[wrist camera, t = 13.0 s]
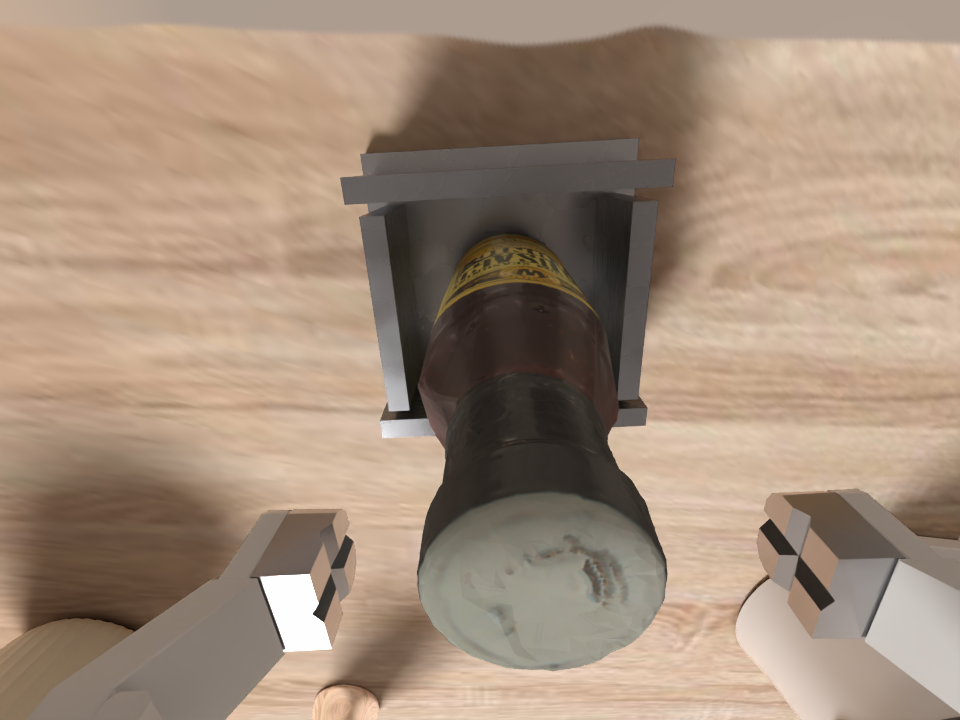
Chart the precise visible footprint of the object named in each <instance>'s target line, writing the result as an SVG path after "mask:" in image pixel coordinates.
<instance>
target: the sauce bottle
mask: <svg viewBox="0 0 960 720" xmlns="http://www.w3.org/2000/svg"><path fill="white" fill-rule="evenodd" d="M418 389H419V392H420V395H421V398H422V401H423V404H424V408H425V411H426V414H427V418H428V420H429V423H430V426H431V428H432V429H433V431H434V433H435V435H436V437H437V438H438V439H439V441H440V442H441V444H442V445H443V447H444V448H445V459H446V463H445V469H444V475H443V483H442V485H441V486H440V487H439V489H438V491H437V493H436V496H435V497H434V499H433V501H432V503H431V505H430V507H429V510H428V512H427V516H426V520H425V525H424V530H423V535H422V543H421V549H420V560H419V565H418V570H417V576H418V591H419V597H420V600H421V603H422V605H423V608H424V610H425V612H426V613H427V615H428V617H429V619H430V620H431V622H432V624H433V626H434V627H435V628H436V629H438V630H439V631H440V632H441V633H442V634H443V635H445V637H446V638H447V640H448V641H449V642H450V643H451V644H453V645H454V646H456V647H458V648H460V649H461V650H463V651H465V652H466V653H468V654H469V655H471V656H473V657H476V658H479V659H481V660H484V661H487V662H490V663H493V664H496V665H500V666H503V667H506V668H514V669H528V670H539V669H544V670H549V671H556V670H563V669H570V668H576V667H580V666H584V665H587V664H591V663H594V662H596V661H599V660H601V659H602V658H604V657H605V656H606V655H608V654H609V653H611V652H614V651H616V650H618V649H621V648H623V647H625V646H627V645H629V644H631V643H632V642H633V641H634V640H636V639H637V638H638V637H639V636H640V635H641V634H642V633H643V632H644V631H645V629H646V628H647V627H648V626H649V625H650V624H651V622H652V621H653V619H654V617H655V616H656V614H657V612H658V610H659V609H660V607H661V605H662V603H663V601H664V598H665V588H666V581H667V564H666V558H665V555H664V553H663V550H662V547H661V545H660V543H659V540H658V537H657V535H656V532H655V527H654V526H653V523H652V520H651V517H650V514H649V511H648V508H647V505H646V502H645V500H644V499H643V498H642V496H641V495H640V494H639V492H638V490H637V488H636V487H635V485H634V483H633V482H632V480H631V479H630V478H629V477H628V476H627V475H626V474H625V473H624V472H622V471H621V470H620V469H619V468H618V466H617V464H616V461H615V458H614V457H613V454H612V451H611V450H610V448H609V446H608V442H607V440H608V434H609V432H610V430H611V428H612V427H613V425H614V424H615V423H616V422H617V417H618V412H619V403H618V397H617V392H616V386H615V381H614V375H613V369H612V364H611V358H610V352H609V347H608V341H607V335H606V332H605V328H604V326H603V324H602V323H601V321H600V319H599V317H598V316H597V314H596V312H595V311H594V309H593V308H592V306H591V305H590V303H589V302H588V301H587V299H586V298H585V296H584V294H583V293H582V291H581V290H580V289H579V287H578V286H577V284H576V282H575V281H574V280H573V278H572V277H571V276H570V275H569V273H568V272H567V270H566V269H565V267H564V266H563V264H562V263H561V261H560V260H559V258H558V257H557V256H556V255H555V254H554V253H553V252H552V251H551V250H550V249H549V248H548V247H547V246H545V245H544V244H542V243H541V242H539V241H537V240H535V239H533V238H530V237H527V236H523V235H520V234H501V235H496V236H491V237H489V238H486V239H484V240H482V241H480V242H479V243H477V244H475V245H474V246H473V247H472V248H470V249H469V250H468V251H467V252H466V253H465V254H464V255H463V257H462V258H461V259H460V261H459V262H458V264H457V266H456V268H455V270H454V273H453V276H452V278H451V281H450V284H449V286H448V289H447V291H446V293H445V296H444V298H443V301H442V303H441V306H440V309H439V312H438V315H437V318H436V320H435V323H434V326H433V329H432V332H431V336H430V341H429V344H428V348H427V352H426V356H425V360H424V364H423V368H422V371H421V375H420V379H419V382H418Z"/></svg>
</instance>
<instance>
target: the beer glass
mask: <svg viewBox="0 0 960 720" xmlns="http://www.w3.org/2000/svg"><path fill="white" fill-rule="evenodd" d="M378 711H379V703H378V700H377V699H376V697H375V696H374V695H373V694H372V693H371V692H369V691H368V690H366V689H364V688H361V687H358V686H354V685H334V686H331V687H328V688H326V689H324V690H322V691H321V692H320V693H319V694H318V695H317V696H316V698H315V701H314V705H313V711H312V719H311V720H376V718H377V715H378Z"/></svg>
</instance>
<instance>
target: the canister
mask: <svg viewBox="0 0 960 720" xmlns="http://www.w3.org/2000/svg"><path fill="white" fill-rule="evenodd" d="M132 633H134V631H133V630H130V629H127V628H125V627H124V626H122V625H116V624H114V623H112V622H104V621H102V620H92V619H89V618H85V619H79V618H73V619H62V620H58V621H53V622H49V623H46V624H44V625H42V626H39V627H36V628H34V629H32V630H30V631H28V632H26V633H24V634H23V635H21V636H19V637H18V638H16V639H15V640H13V641H12V642H10V643H9V644H7V645H6V646H4V647H3V648H2V649H0V720H26V719H27V718H28V717H29V716H30V714H31V713H32V712H33V711H34V710H35V708H36V707H37V706H38V705H39V704H40V702H41V701H42V700H43V699H44V698H45V697H46V695H47V694H48V693H49V692H50V691H51V689H53V688H54V687H56V686H57V685H59V684H60V683H61V682H63V681H64V680H66V679H67V678H69V677H70V676H72V675H73V674H74V673H76V672H77V671H79V670H80V669H82V668H83V667H85V666H86V665H87V664H89V663H90V662H92V661H93V660H95V659H96V658H98V657H99V656H100V655H102V654H103V653H105V652H106V651H108V650H109V649H111V648H112V647H114V646H115V645H116V644H118V643H119V642H121V641H122V640H124V639H125V638H127V637H128V636H129V635H131V634H132Z"/></svg>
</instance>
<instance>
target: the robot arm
mask: <svg viewBox="0 0 960 720" xmlns="http://www.w3.org/2000/svg"><path fill="white" fill-rule="evenodd" d="M764 511H765V512H766V514H767V515H768V517H769V518H770V519H769V520H768V521H767V522H766V523H765V524H764V525H762V526H761V527H760V528H759V533H758V538H757V546H758V552H759V558H760V560H761V562H762V565H763V567H764V569H765V571H766V572H767V574H768V575H769V577H770V579H768V580H767V581H766V582H764V583H763V584H762V585H761V586H760V587H758V588H757V589H756V590H755V591H754V592H753V593H752V595H751V596H750V597H749V598H748V600H747V601H746V602H745V604H744V605H743V607H742V609H741V611H740V613H739V615H738V619H737V623H736V637H737V641H738V643H739V645H740V647H741V648H742V650H743V651H744V652H745V653H746V654H747V655H748V656H749V657H750V658H751V659H752V660H753V662H754V663H755V664H756V665H757V666H758V667H759V668H760V669H761V670H762V672H763V673H764V674H765V675H766V676H767V677H768V679H769V680H770V681H771V682H772V684H773V685H774V686H775V687H776V688H777V690H778V691H779V692H780V694H781V695H782V696H783V698H784V699H785V700H786V701H787V703H788V704H789V705H790V707H791V708H792V710H793V711H794V712H795V714H796V715H797V716H798V718H799V719H800V720H960V541H959V540H950V539H941V538H931V537H922V536H916V535H915V534H914V533H913V532H912V531H911V530H909V529H908V528H907V527H906V526H905V525H904V524H902V523H901V522H900V521H899V520H898V519H897V518H896V517H894V516H893V515H892V514H891V513H890V512H889V511H887V510H886V509H885V508H884V507H883V506H882V505H880V504H879V503H878V502H877V501H876V500H875V499H873V498H872V497H871V496H870V495H869V494H868V493H866V492H863V491H861V490H859V489H845V490H828V491H814V492H791V493H772V494H771V495H770V496H769V497H768V498H767V500H766V504H765V507H764ZM348 527H349V521H348V517H347V514H346V511H344V510H342V509H293V510H268V511H267V512H265V513H263V514H262V515H261V516H260V518H259V519H258V521H257V522H256V524H255V525H254V527H253V528H252V530H251V531H250V533H249V534H248V536H247V537H246V539H245V540H244V542H243V543H242V545H241V546H240V548H239V549H238V551H237V552H236V554H235V555H234V557H233V558H232V560H231V561H230V563H229V564H228V566H227V567H226V569H225V570H224V572H223V573H222V575H221V576H220V578H219V579H211V580H209V581H208V582H206V583H205V584H203V585H202V586H200V587H199V588H197V589H196V590H195V591H193V592H192V593H190V594H189V595H187V596H186V597H184V598H183V599H182V600H180V601H179V602H177V603H176V604H174V605H173V606H171V607H170V608H169V609H167V610H166V611H164V612H163V613H161V614H160V615H158V616H157V617H156V618H154V619H153V620H151V621H150V622H148V623H147V624H145V625H144V626H142V627H141V628H140V629H138V630H137V631H135V632H134V633H132V634H131V635H129V636H128V637H127V638H125V639H124V640H122V641H121V642H119V643H118V644H116V645H115V646H114V647H112V648H111V649H109V650H108V651H106V652H105V653H103V654H102V655H100V656H99V657H98V658H96V659H95V660H93V661H92V662H90V663H89V664H87V665H86V666H85V667H83V668H82V669H80V670H79V671H77V672H76V673H74V674H73V675H72V676H70V677H69V678H67V679H66V680H64V681H63V682H61V683H60V684H59V685H57V686H56V687H54V688H53V689H51V691H50V692H49V693H48V694H47V695H46V697H45V698H44V699H43V700H42V701H41V702H40V704H39V705H38V706H37V707H36V708H35V710H34V711H33V712H32V713H31V714H30V716H29V717H28V718H27V719H26V720H225V719H226V718H227V717H228V716H229V715H230V714H231V713H232V712H233V710H234V709H235V708H236V707H237V706H238V705H239V704H240V703H241V702H242V701H243V699H244V698H245V697H246V696H247V695H248V694H249V693H250V692H251V691H252V690H253V688H254V687H255V686H256V685H257V684H258V683H259V682H260V681H261V680H262V678H263V677H264V676H265V675H266V674H267V673H268V672H269V671H270V670H271V669H272V667H273V666H274V665H275V664H276V663H277V662H278V661H279V660H280V659H281V658H282V656H283V655H284V651H296V650H315V649H331V648H332V645H333V642H334V639H335V636H336V633H337V630H338V627H339V624H340V621H341V618H342V615H343V612H342V608H341V604H340V601H341V600H342V599H343V598H345V597H346V596H347V595H348V594H349V593H350V591H351V588H352V584H353V581H354V577H355V569H356V550H355V546H354V541H352V540H351V539H350V538H349V537H348V536H347V535H346V532H347V529H348Z"/></svg>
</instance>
